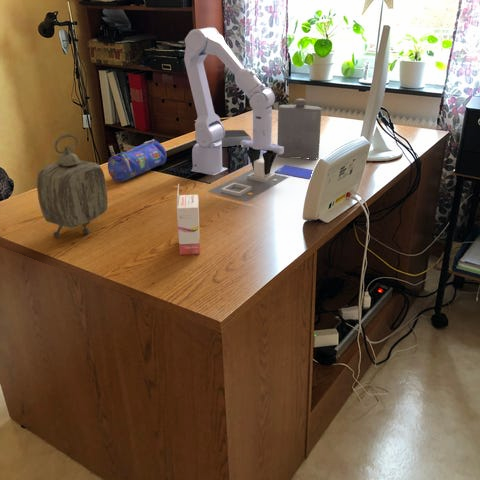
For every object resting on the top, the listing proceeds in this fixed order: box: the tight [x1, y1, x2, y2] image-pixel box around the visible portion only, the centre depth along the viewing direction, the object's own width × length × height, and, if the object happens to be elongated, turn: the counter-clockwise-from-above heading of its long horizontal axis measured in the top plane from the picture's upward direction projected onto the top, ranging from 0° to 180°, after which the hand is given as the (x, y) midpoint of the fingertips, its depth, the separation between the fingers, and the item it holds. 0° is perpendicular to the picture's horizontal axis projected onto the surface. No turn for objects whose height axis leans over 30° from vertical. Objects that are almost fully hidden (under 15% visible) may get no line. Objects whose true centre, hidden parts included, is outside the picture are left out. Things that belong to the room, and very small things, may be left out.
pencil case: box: [107, 138, 168, 183], centre depth 175 cm, size 22×9×10 cm, turn 150°
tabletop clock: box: [36, 133, 108, 239], centre depth 130 cm, size 14×9×25 cm, turn 150°
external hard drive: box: [222, 129, 253, 147], centre depth 207 cm, size 13×19×4 cm
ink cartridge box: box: [176, 183, 201, 256], centre depth 125 cm, size 9×5×15 cm, turn 5°
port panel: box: [207, 169, 290, 202], centre depth 165 cm, size 14×24×2 cm, turn 146°
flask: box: [276, 98, 322, 160], centre depth 187 cm, size 15×6×20 cm, turn 73°
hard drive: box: [273, 164, 314, 180], centre depth 174 cm, size 2×8×12 cm
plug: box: [254, 158, 270, 178], centre depth 169 cm, size 4×4×6 cm
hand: (261, 172), depth 169 cm, fingers closed on plug, 4 cm apart
